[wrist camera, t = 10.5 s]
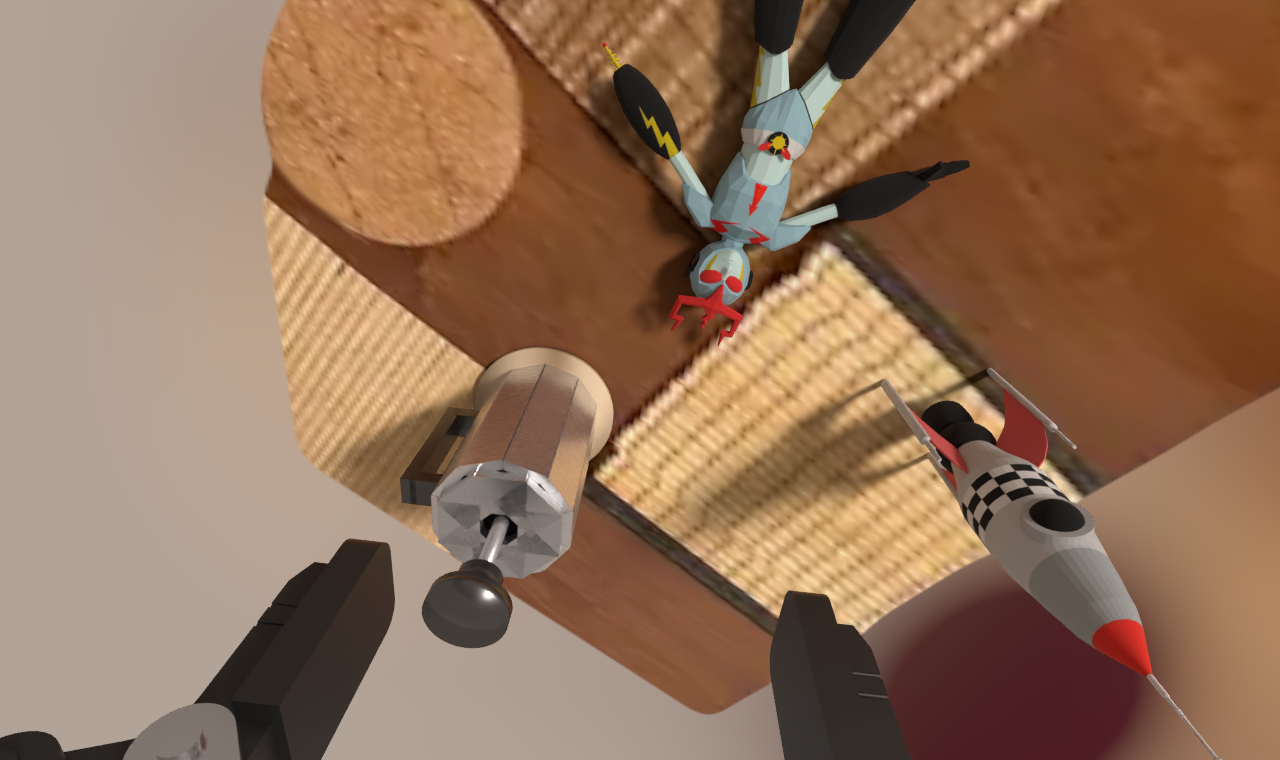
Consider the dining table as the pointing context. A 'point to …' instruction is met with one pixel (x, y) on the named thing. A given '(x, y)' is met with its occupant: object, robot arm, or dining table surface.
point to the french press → (510, 469)
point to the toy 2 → (1033, 522)
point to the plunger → (472, 598)
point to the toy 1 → (771, 150)
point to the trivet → (560, 361)
